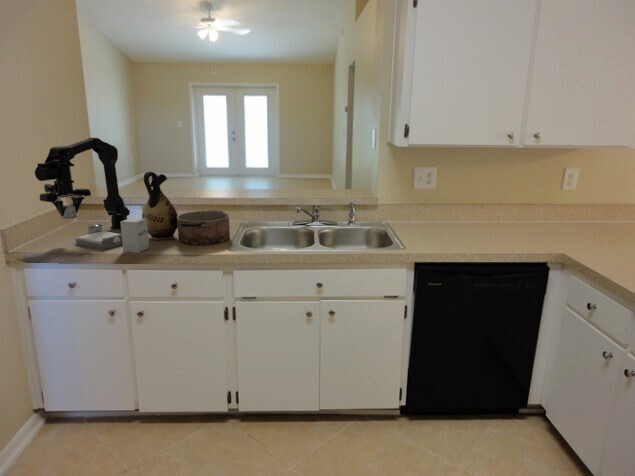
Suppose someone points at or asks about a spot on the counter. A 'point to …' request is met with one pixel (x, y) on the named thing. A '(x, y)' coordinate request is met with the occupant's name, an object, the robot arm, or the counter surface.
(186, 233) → the cooking pot
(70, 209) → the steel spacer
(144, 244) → the supplement box
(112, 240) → the kitchen scale
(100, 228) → the steel spacer
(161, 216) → the ceramic jug
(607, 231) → the counter surface
